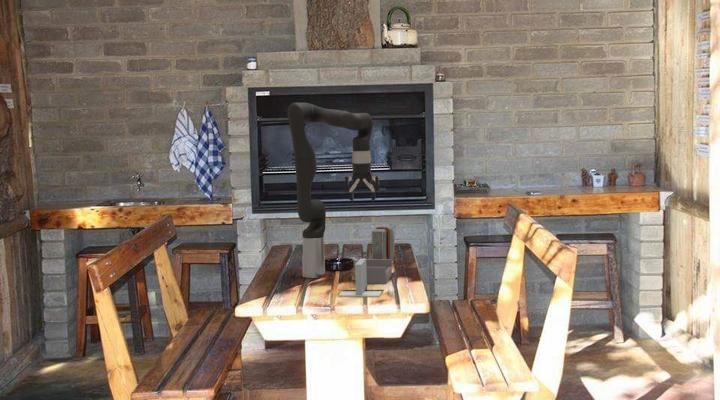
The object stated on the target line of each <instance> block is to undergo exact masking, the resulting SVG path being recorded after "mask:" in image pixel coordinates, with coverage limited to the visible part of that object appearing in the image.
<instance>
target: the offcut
mask: <svg viewBox="0 0 720 400" xmlns="http://www.w3.org/2000/svg"><path fill="white" fill-rule="evenodd" d="M350 275H351V277H352V276H355V269H353V270H351V271H350Z"/></svg>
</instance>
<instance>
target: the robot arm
mask: <svg viewBox="0 0 720 400" xmlns="http://www.w3.org/2000/svg"><path fill="white" fill-rule="evenodd" d="M287 118H288V119H287V120H288V124H289V128H290V129H289V130H290V135H291V140H292V141H291V143H292V147H293V150H292V151H293V159H294V160H293V161H294V169H295V170H294V171H295V177H296V192H297V195H296V196H297V197H296V200H297V203H296V204H297V205H296V206H297V207H296V208H297V215H298V218H299V220H300V221H301V222H302V223H309V224H308V226H307V227H306V228H305V229H304V230H302V254H301V265H302V266H301V268H302V278H307V279H319V278H321V277H322V275H325V274H326V267H325V266H326V264H325V263H326V261H325V260H326V259H325V231H326V221H327V220H326V219H327V218H326V217H327V215H326V214H327V213H326V206H325V204H324V202H323V201H322V200H321V199H312V196H311V195H312V194H311V190H312V189H311V188H312V185H313V182H314V180H315V177H316V173H317V158H316V153H315V150H314V148H313V146H312V144H311V143H310V141H309V139H308V137H307V135H306V134H307V133H306V129H305V125H306V124H307V125H308V124H310V123H311V124H312V123H314V124H315V123H322V124H326V125H328V126H331V127H335V128H343V129H347V130H350V131H357V135H356V136H354V137H353V138H352V156H351V157H352V160H351V161H352V176H348V175H346V176H345V178H344V191H346V192H348V194H349V200H350V201H351V202H354V201H355V200H354V199H355V198H354V190H355V189H356V187H362V188H363V187H364V188H365V187H367V188H368V189H369V190H370V191H371V202H374V201H375V200H376V192H378V191H380V189H381V188H380V187H381V186H380V177H379V175H375V176H374V175H372V157H371V143H370V141H371V137H372V131H373V127H374V125H373V118H372V116H371V115H370V113H367V112H361V113H360V112H359V113H358V112H357V113H355V112H349V111H348V110H340V109H333V108H332V109H330V108H323V107H320V106H317V105H315V104H312V103H308V102H292V103H290V105H289V106H288V109H287ZM351 180H352V182H353V184H352V186H351V187H349V186H350V182H351ZM372 180H373V182H374V183H375V187H374V185H373V184H372Z"/></svg>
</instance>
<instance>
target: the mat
mask: <svg viewBox="0 0 720 400" xmlns="http://www.w3.org/2000/svg"><path fill="white" fill-rule="evenodd" d="M384 290H385V289H365V292H364V293H363V294H362V295H356V289H342V290H341V292H340V293H339V294H338V297H339V298H340V297H343V298H380V297H381V295H383V293H384Z"/></svg>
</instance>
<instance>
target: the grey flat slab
mask: <svg viewBox="0 0 720 400" xmlns="http://www.w3.org/2000/svg"><path fill="white" fill-rule="evenodd" d="M366 259H367V258H359V259H358V260H357V262H356V263H355V264H354V270H355V281H354V282H355V290H356V295H362V294H363V293H364V292H365V290H367V287H368V284H367V268H366Z"/></svg>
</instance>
